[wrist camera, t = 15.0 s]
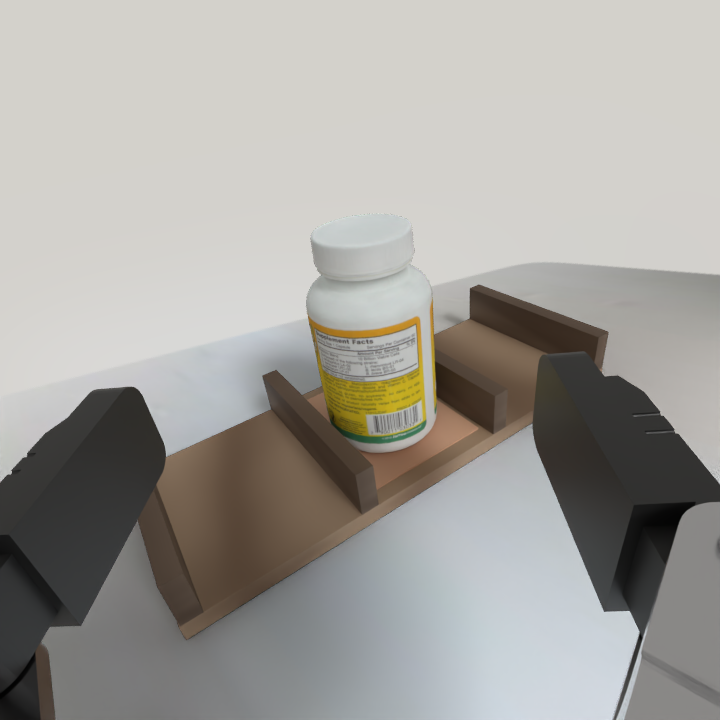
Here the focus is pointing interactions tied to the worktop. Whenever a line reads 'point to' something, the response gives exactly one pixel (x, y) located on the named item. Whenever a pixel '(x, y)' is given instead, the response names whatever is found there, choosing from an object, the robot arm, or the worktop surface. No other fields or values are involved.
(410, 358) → the supplement bottle
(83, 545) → the robot arm
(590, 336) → the slot rack
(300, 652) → the worktop surface
